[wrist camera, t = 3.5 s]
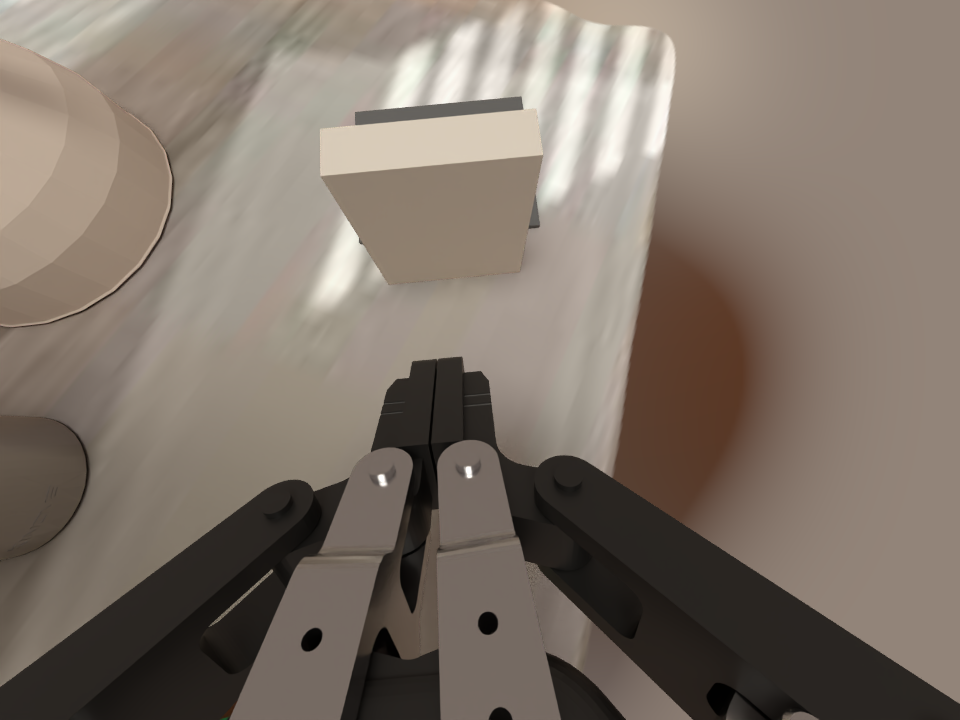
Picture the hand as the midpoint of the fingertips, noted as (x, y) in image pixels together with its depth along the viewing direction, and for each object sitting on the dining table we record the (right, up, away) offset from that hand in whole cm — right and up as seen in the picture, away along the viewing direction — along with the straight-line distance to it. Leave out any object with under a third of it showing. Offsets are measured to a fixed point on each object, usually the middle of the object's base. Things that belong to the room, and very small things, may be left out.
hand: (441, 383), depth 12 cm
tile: (-1, +8, +17) cm, 19 cm away
